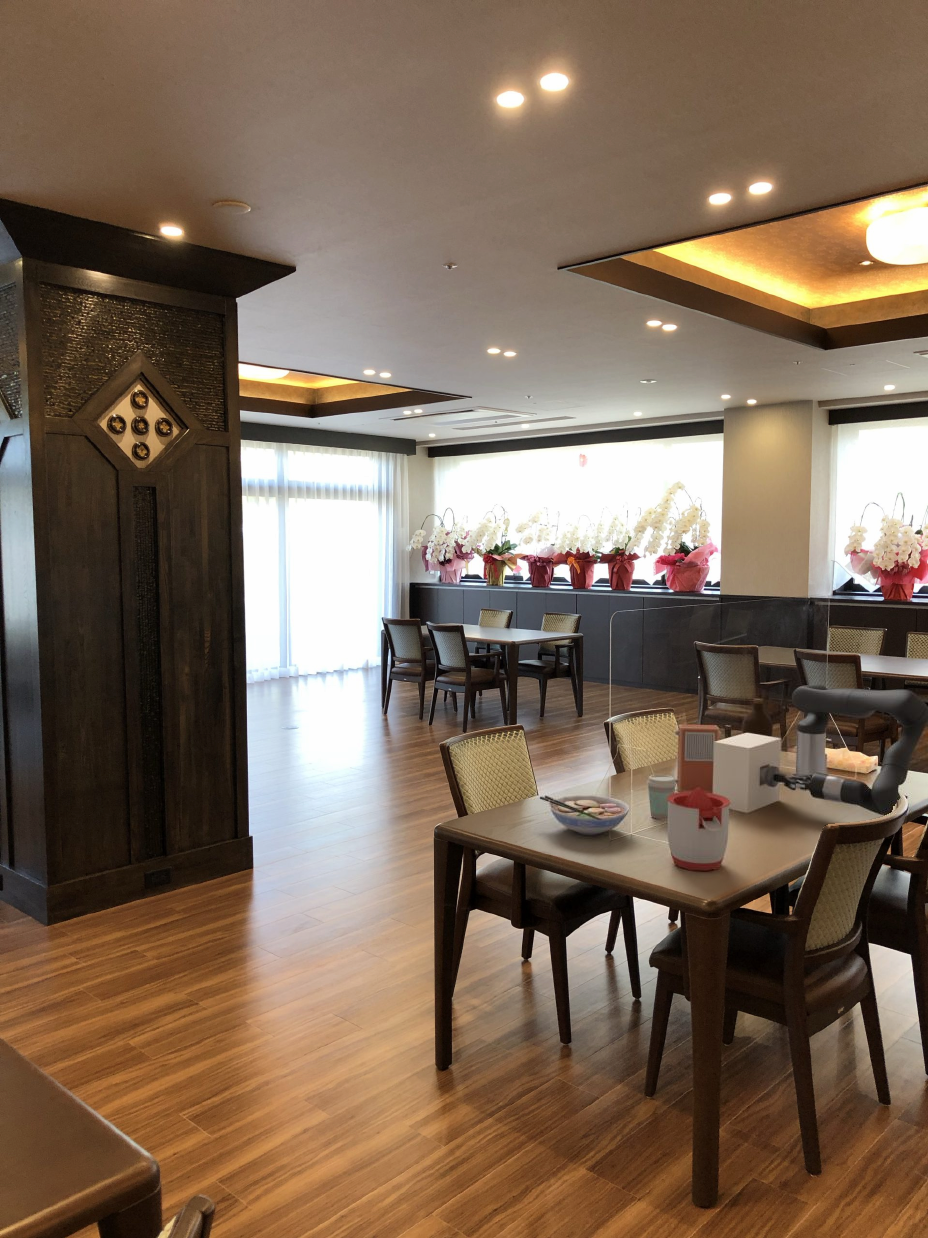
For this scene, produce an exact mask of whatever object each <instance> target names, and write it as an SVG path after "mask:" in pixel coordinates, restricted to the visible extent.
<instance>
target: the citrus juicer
mask: <svg viewBox="0 0 928 1238" xmlns="http://www.w3.org/2000/svg"><path fill="white" fill-rule="evenodd" d="M667 800H668V819H667V842H668V847H669V850H670V855H671V858H672V861H673V863H674V864H675V865H677V866H678V867H681V868H683V869H686V870H688V871H712V870H711V869H713V870H716V869H715V868H717V869H718V868H719V867H720V866H721V864H722V863H723V860H724V857H725V854H726V850H727V845H728V839H729V823H730V822H729V819H730V809H729V804H730V801H729V799H727V798H726V797H723V796H721V795H717V794H713V793H712V792H704V791H703V790H702V789H701V788H696V789H695V790H694V791H685V792H680V791H677V792H674V793H673V794H670V795H669V796H668V797H667Z"/></svg>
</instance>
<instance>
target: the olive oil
mask: <svg viewBox="0 0 928 1238" xmlns="http://www.w3.org/2000/svg"><path fill="white" fill-rule="evenodd" d="M763 702H764V699H763V698H753V703H752V704H753V706H752V708H753V709H752V710H751V711H750V712H749V713H748V714H747V715H746V716H744V718H743V721H742V726H741V728H742V733H741V734H744V733H752V734H758V735H764V736H769V737H773V729H774V725H773V721H772V719H771V717H770V716H769V715H768V714H767V713H766V712H765V710H764V703H763Z"/></svg>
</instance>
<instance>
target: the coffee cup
mask: <svg viewBox="0 0 928 1238" xmlns="http://www.w3.org/2000/svg"><path fill="white" fill-rule="evenodd" d="M675 779H676V778H675V777H674V776H671V775H668V774H652V775H649V776H648V779H647V781H646V784H647V787H648V798H649V809H650V817H651V816H652V817H654V818H657V819H656V820H658V819H667V820H668V800H667V797H668V796H669V795H670V794H673V793H675V789H676V787H677V784H676V782H675ZM652 817H651V818H652ZM654 818H653V819H654Z"/></svg>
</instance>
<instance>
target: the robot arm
mask: <svg viewBox="0 0 928 1238" xmlns="http://www.w3.org/2000/svg"><path fill="white" fill-rule="evenodd" d="M791 702H792V704H793V706H794V708H795V709H797V710H798V711H799V712H801V713H805V714H806V713H807V716H806V717H804V718H803V719H801V720H800V721H799V722H797V726H796V749H795V750H796V751H795V753H796V754H795V755H796V757H795V758H796V759H795V773H794V774H782V773H780V774H778V773H777V774H775V775H774V781H776V782H780V783H782V784H783V786H784V787H786V788H788V789H789V790H791V791H796V790H800V791H803V792H806V791H809V794H810V796H812V798H814V799H819V800H824V801H830V802H834V803H844V804H849V805H854V806H859V807H861V808H863V809H865V810H868V811H870V812H871V813H872V812H873V813H875V814H878V815H880V816H881V815H882V816H885V815H887V814H889V813H891V812H892V810H893V806H895V804H896V803H897V800H899V799H900V798H901V797H902V796H901V795H900V792H899V788H900V786H901V785H903V784H904V783H905V782H906V780H907V777H908V772H909V769H910V766H911V759H912V757H913V755H914V751H915V749H916V748H917V746H918V743H919V741H920V739H921V737H922V734H923V733H924V731H925V728H926V727H927V724H928V705H927V704H926V703H925V702H924V701H923V700H922V699H921V697H919V696H918V695H917V694H916V693H915V692H914V691H911V690H909V689H887V690H884V689H883V690H879V689H878V690H877V689H861V688H853V687H852V688H849V687H848V688H832V689H828V688H827V686H825V685H822V684H810V685H809V684H807V685H802V686H799V687H797V688H796V689H794V690H793V692H792V695H791ZM876 712H882V713H887V714H889V715H891V716H892V717H893V718H894V720H896V721H897V722H898V723H899V724H900V725H902V731H901V735H900V738H899V739H898V740H897V741H896V742H894V743H893V744H892V745H891V746H889V747H888V749H887V750H886V751H885V753H884V755H883V759H882V763H881V766H880V772H879V773H878V774H877V776H876V777H875V780H874V781H873V782H872V786H871V787H869V785H868V784H866V783H865V782H864V781H861V780H855V779H851V778H845V777H843V776H839V775H833V774H827V770H828V754H827V753H826V738H827V736H826V735H827V734H826V733H827V728H828V725H829V722H830V721H829V720H830V715H831V714H832V715H835V716H836V715H837V716H842V717H849V718H855V719H865V718H868V717H870V716H872V715H873V714H874V713H876ZM901 799H902V798H901Z"/></svg>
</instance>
